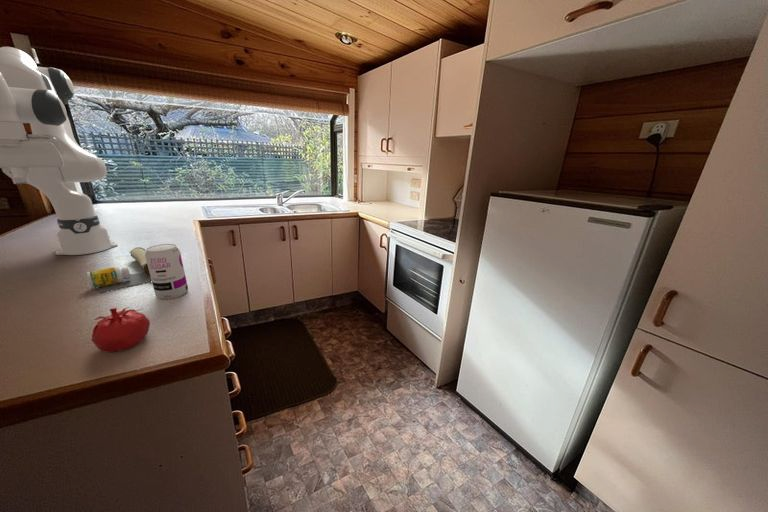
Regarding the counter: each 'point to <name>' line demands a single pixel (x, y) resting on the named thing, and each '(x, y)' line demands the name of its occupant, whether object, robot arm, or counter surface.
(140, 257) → the rolling pin
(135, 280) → the mat
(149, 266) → the supplement can
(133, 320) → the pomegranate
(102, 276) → the supplement bottle
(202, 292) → the counter surface
